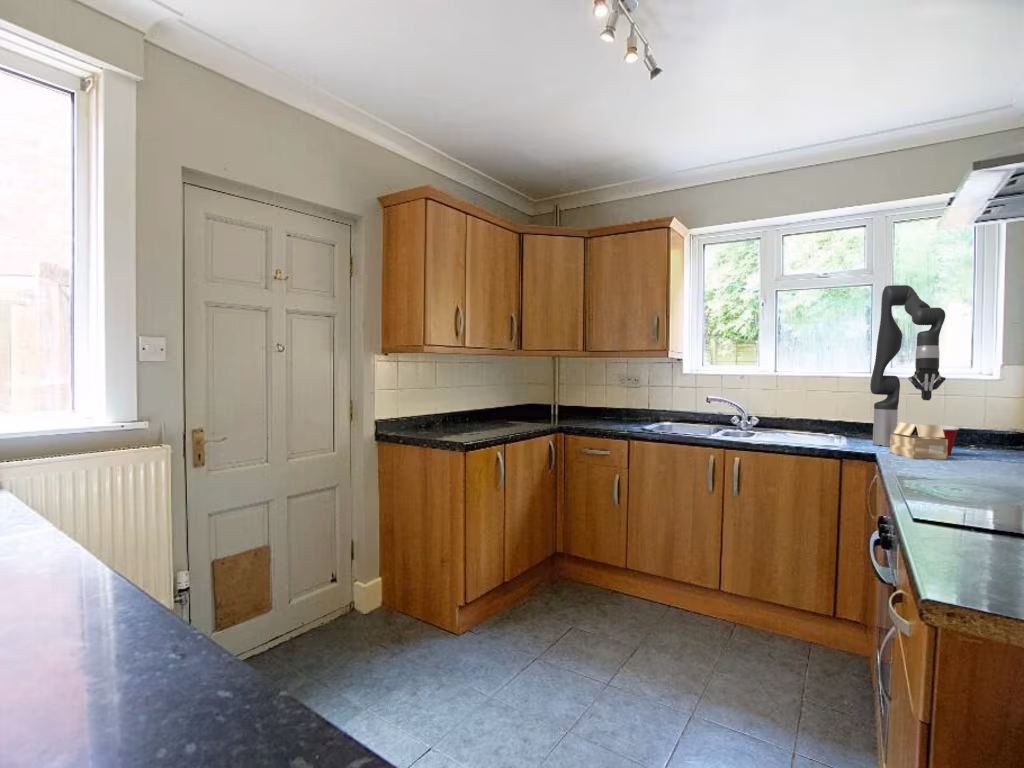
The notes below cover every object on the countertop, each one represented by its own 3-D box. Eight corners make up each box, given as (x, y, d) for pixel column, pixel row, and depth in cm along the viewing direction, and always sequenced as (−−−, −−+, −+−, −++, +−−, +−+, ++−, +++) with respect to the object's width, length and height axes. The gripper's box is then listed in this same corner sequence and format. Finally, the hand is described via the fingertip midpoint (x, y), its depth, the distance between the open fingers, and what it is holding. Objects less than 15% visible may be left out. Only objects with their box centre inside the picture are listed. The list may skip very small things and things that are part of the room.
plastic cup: (928, 455, 218) (929, 426, 218) (922, 452, 228) (923, 424, 228) (962, 457, 213) (963, 427, 213) (954, 454, 223) (955, 425, 223)
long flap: (894, 433, 219) (893, 432, 219) (900, 422, 219) (899, 422, 219) (910, 436, 209) (909, 435, 209) (916, 424, 208) (915, 424, 208)
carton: (889, 453, 222) (890, 434, 221) (921, 454, 220) (921, 435, 220) (913, 459, 206) (913, 438, 206) (947, 460, 204) (948, 439, 204)
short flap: (918, 436, 206) (919, 436, 205) (915, 424, 208) (916, 424, 207) (944, 437, 204) (944, 437, 204) (941, 425, 206) (941, 425, 206)
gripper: (939, 357, 215) (938, 400, 215) (903, 357, 217) (902, 399, 217) (951, 357, 208) (950, 401, 208) (915, 356, 210) (914, 400, 210)
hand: (926, 400), depth 213 cm, fingers closed
